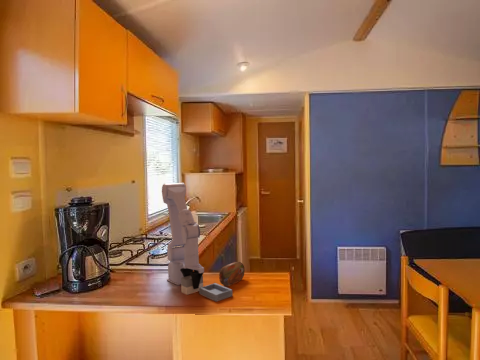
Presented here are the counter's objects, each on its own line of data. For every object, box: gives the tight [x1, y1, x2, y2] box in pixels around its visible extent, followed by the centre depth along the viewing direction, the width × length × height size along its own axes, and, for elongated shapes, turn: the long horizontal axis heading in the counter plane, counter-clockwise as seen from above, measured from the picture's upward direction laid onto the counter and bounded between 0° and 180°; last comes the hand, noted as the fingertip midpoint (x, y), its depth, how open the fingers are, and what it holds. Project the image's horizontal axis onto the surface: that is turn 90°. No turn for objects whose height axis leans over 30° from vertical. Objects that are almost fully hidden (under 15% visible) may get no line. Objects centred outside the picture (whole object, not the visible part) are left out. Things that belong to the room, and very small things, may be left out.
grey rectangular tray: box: [198, 282, 233, 302], centre depth 138 cm, size 11×8×2 cm
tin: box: [218, 261, 246, 287], centre depth 152 cm, size 15×3×8 cm, turn 143°
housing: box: [180, 274, 204, 296], centre depth 143 cm, size 4×8×6 cm, turn 132°
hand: (192, 286), depth 143 cm, fingers open, 5 cm apart
